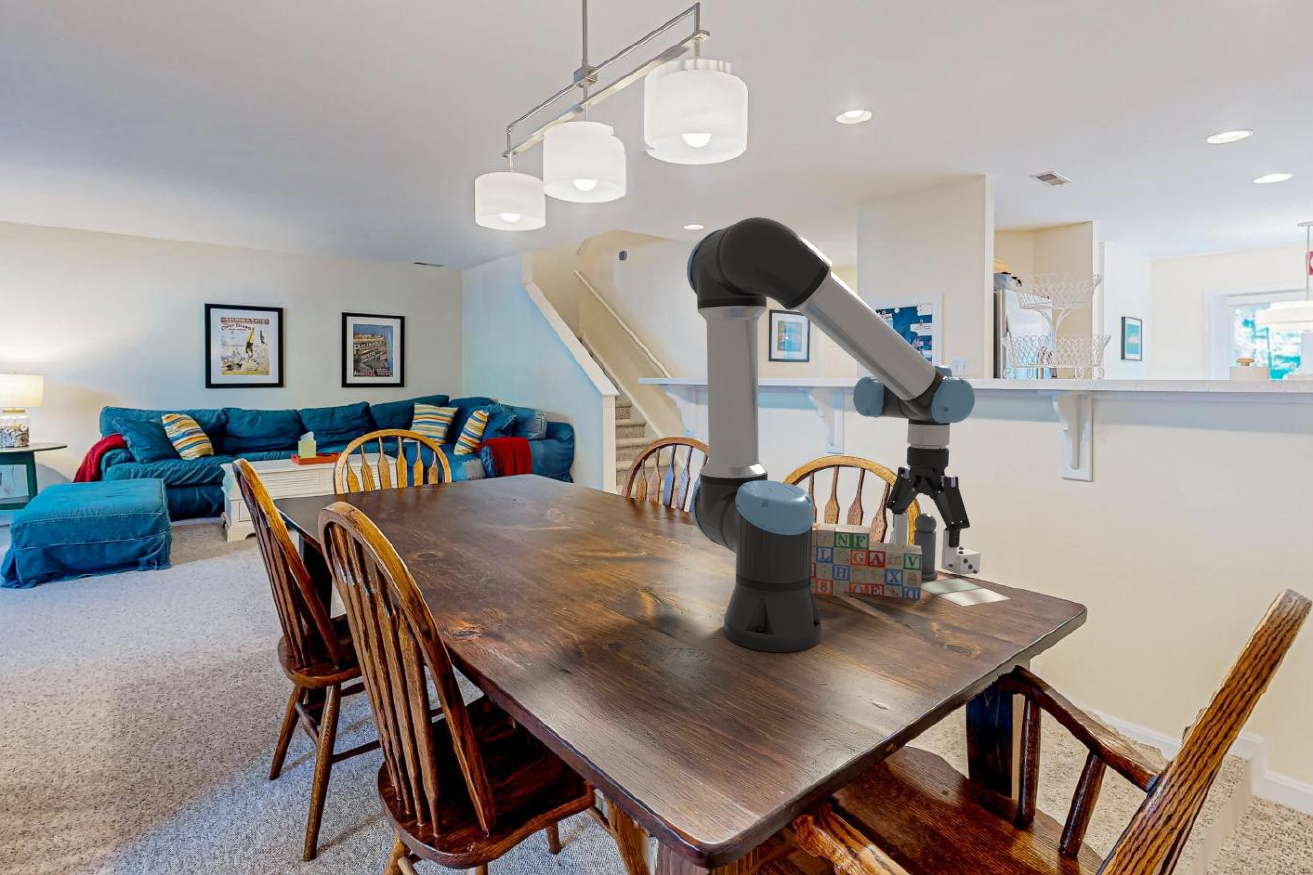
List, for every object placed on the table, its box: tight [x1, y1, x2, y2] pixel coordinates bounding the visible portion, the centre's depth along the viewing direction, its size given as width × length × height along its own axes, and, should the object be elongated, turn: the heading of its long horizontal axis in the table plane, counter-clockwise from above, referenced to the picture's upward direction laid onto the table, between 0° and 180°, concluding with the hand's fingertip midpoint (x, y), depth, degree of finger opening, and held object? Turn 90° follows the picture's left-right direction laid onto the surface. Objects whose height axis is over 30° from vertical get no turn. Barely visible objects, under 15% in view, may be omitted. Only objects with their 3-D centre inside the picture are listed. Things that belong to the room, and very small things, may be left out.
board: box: [921, 569, 1012, 607], centre depth 134 cm, size 12×26×1 cm, turn 20°
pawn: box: [913, 513, 938, 580], centre depth 136 cm, size 5×5×12 cm
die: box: [940, 546, 981, 576], centre depth 140 cm, size 6×6×6 cm
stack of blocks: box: [811, 522, 922, 600], centre depth 129 cm, size 21×6×12 cm, turn 70°
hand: (923, 554), depth 136 cm, fingers open, 13 cm apart
